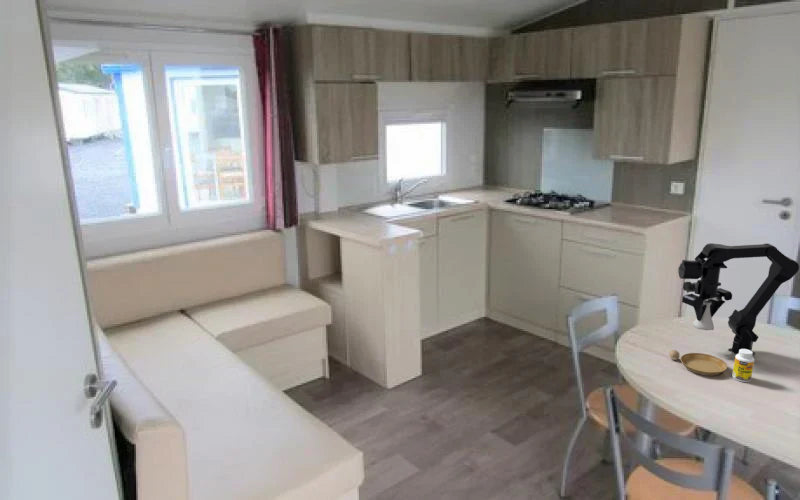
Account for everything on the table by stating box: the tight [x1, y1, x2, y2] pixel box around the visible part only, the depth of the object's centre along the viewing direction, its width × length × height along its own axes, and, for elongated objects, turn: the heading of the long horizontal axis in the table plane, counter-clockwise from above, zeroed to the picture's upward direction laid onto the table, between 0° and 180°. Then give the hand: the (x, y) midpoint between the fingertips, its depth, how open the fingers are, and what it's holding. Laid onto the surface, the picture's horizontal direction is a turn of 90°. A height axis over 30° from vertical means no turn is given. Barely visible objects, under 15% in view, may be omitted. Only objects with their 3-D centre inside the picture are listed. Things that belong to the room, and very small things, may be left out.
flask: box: [692, 300, 715, 331], centre depth 214 cm, size 7×7×10 cm
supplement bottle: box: [731, 349, 755, 383], centre depth 196 cm, size 6×6×10 cm
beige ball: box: [668, 349, 681, 361], centre depth 212 cm, size 4×4×4 cm
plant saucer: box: [679, 352, 728, 376], centre depth 205 cm, size 15×15×3 cm
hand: (704, 319), depth 214 cm, fingers closed on flask, 5 cm apart
